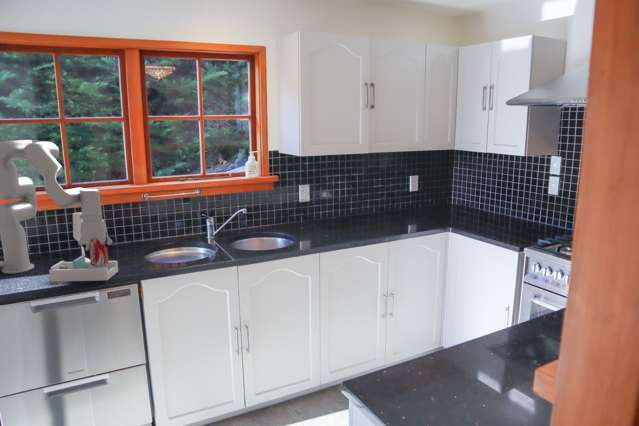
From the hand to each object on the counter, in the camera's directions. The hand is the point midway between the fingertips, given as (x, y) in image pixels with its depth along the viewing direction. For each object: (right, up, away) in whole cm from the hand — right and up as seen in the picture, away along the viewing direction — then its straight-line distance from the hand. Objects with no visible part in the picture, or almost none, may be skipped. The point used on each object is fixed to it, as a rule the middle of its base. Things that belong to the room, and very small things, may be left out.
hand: (97, 258), depth 204 cm
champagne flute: (-18, -4, +24) cm, 30 cm away
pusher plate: (-8, -7, +1) cm, 11 cm away
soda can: (+1, -3, +1) cm, 4 cm away
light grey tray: (-6, -8, +1) cm, 10 cm away
